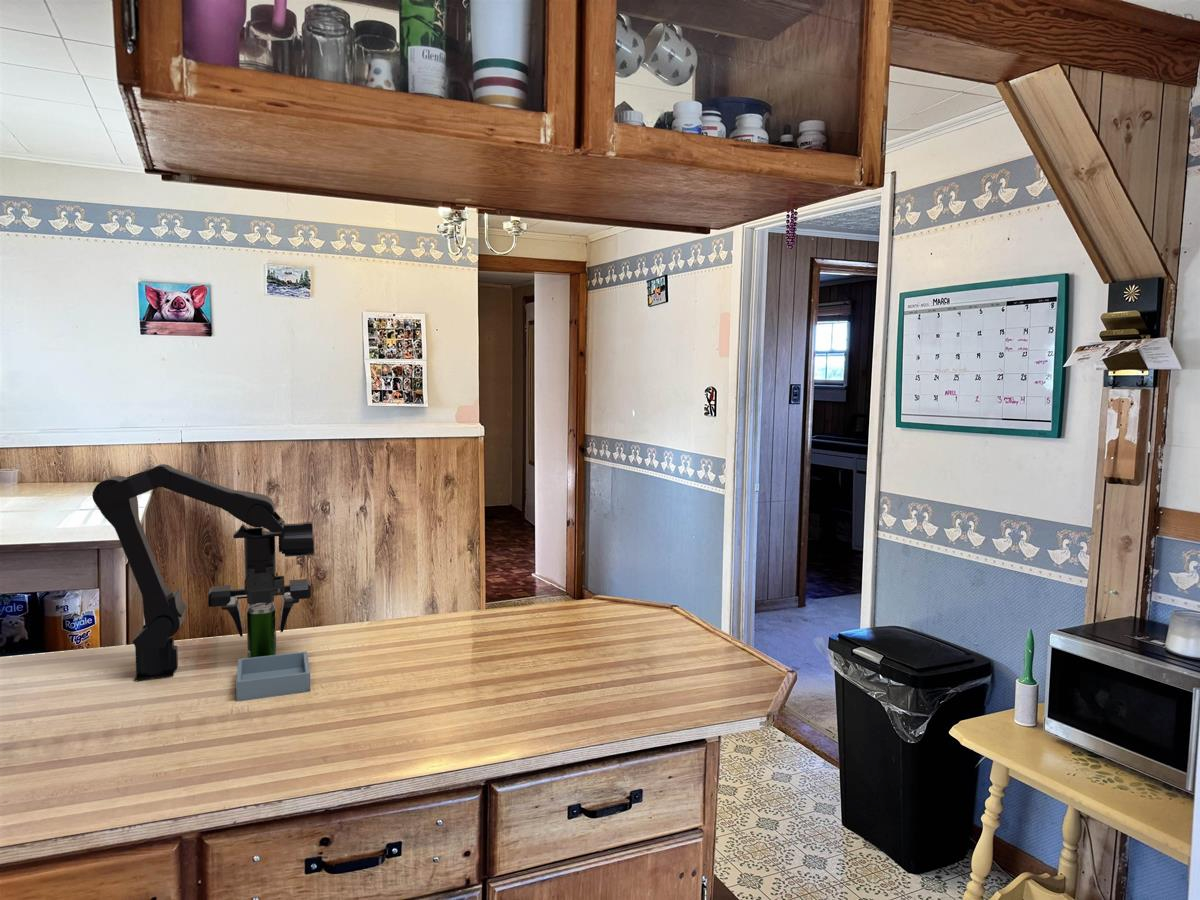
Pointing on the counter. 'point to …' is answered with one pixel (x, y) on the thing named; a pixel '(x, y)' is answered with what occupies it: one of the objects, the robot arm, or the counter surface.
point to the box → (272, 676)
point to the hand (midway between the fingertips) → (261, 633)
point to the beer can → (261, 630)
